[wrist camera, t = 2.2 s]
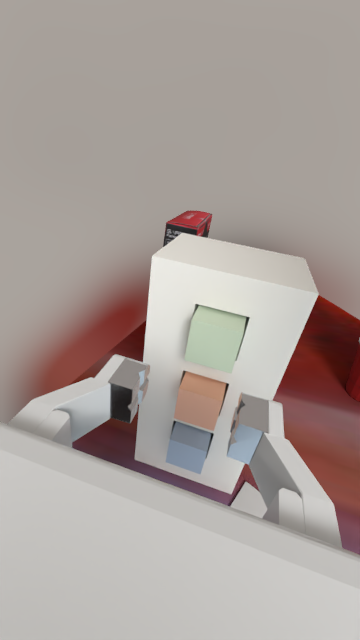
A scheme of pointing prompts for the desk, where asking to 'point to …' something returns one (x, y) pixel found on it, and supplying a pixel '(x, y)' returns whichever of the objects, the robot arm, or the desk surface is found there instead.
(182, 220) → the graphics card box
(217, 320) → the sage button
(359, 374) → the plastic cup
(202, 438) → the slate button
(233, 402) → the button panel
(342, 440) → the desk surface
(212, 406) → the terracotta button
